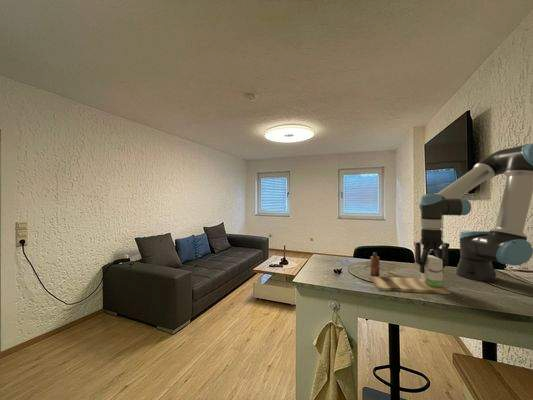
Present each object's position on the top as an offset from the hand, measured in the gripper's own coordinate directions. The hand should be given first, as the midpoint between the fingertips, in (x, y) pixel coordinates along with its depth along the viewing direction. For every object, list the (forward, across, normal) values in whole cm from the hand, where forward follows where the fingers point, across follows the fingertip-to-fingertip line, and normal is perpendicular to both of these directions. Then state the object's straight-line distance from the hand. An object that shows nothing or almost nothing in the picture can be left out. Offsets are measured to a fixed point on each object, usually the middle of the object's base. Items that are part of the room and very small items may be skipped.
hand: (431, 280), depth 101 cm
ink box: (+1, 0, 0) cm, 1 cm away
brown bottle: (+3, +20, -12) cm, 24 cm away
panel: (+3, +10, 0) cm, 11 cm away
